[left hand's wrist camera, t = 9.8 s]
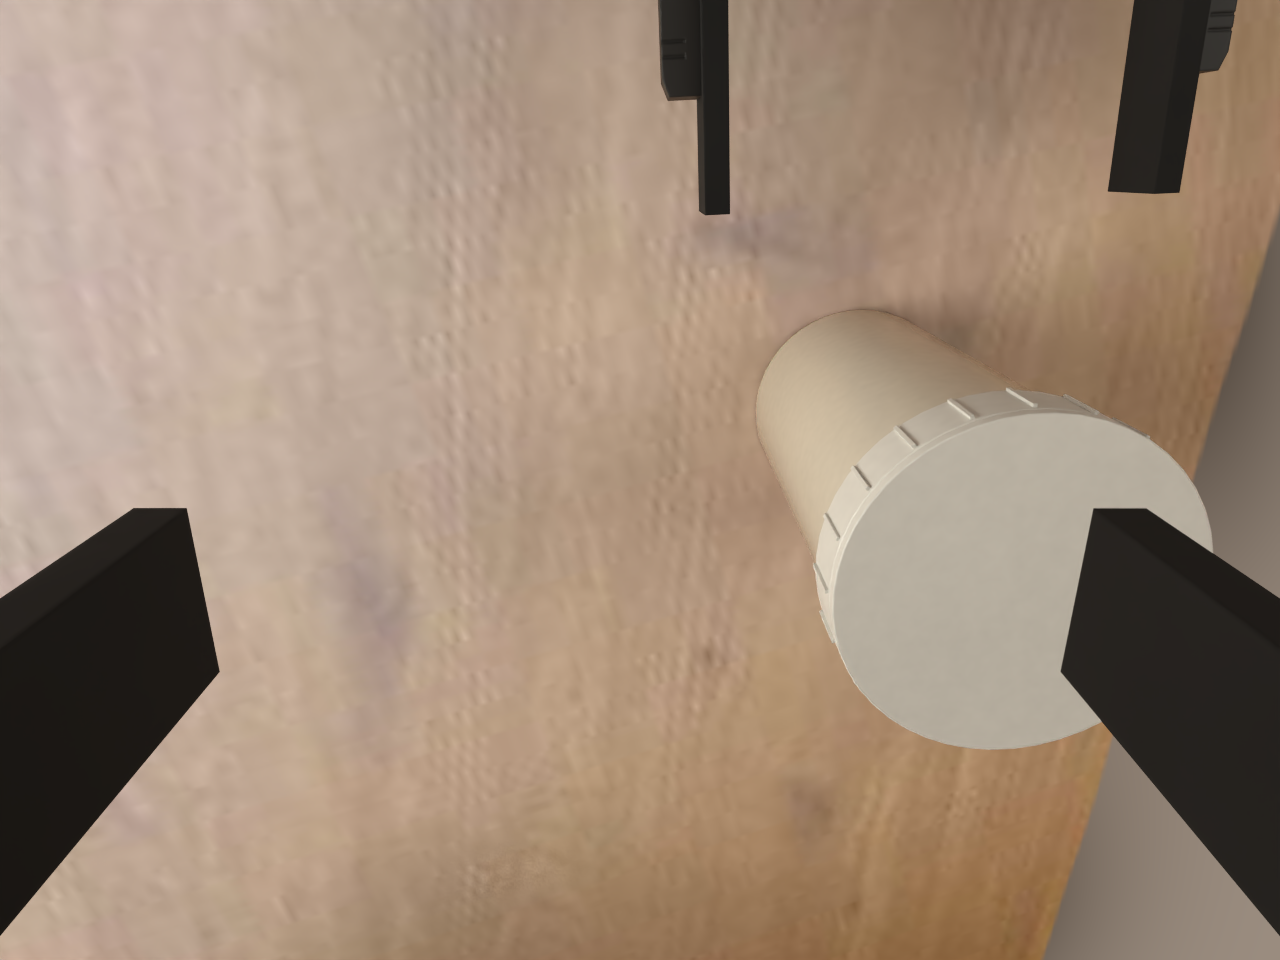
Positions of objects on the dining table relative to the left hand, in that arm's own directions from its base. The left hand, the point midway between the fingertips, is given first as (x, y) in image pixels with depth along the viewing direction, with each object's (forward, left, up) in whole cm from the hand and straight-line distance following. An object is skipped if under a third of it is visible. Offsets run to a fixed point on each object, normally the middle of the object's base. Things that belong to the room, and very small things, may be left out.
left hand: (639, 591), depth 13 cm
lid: (-2, -10, -7) cm, 12 cm away
